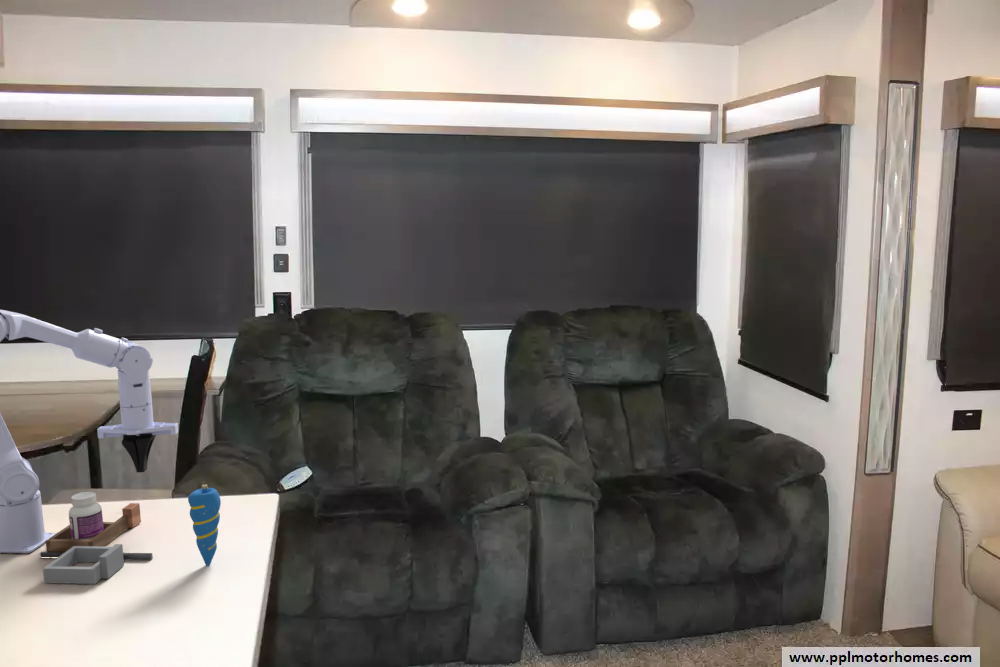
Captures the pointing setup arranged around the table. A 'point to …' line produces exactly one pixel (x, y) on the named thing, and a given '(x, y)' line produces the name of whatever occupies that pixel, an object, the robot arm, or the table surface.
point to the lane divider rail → (125, 555)
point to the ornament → (205, 520)
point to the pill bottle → (85, 516)
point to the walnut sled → (110, 532)
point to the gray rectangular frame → (103, 569)
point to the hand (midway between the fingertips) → (141, 470)
